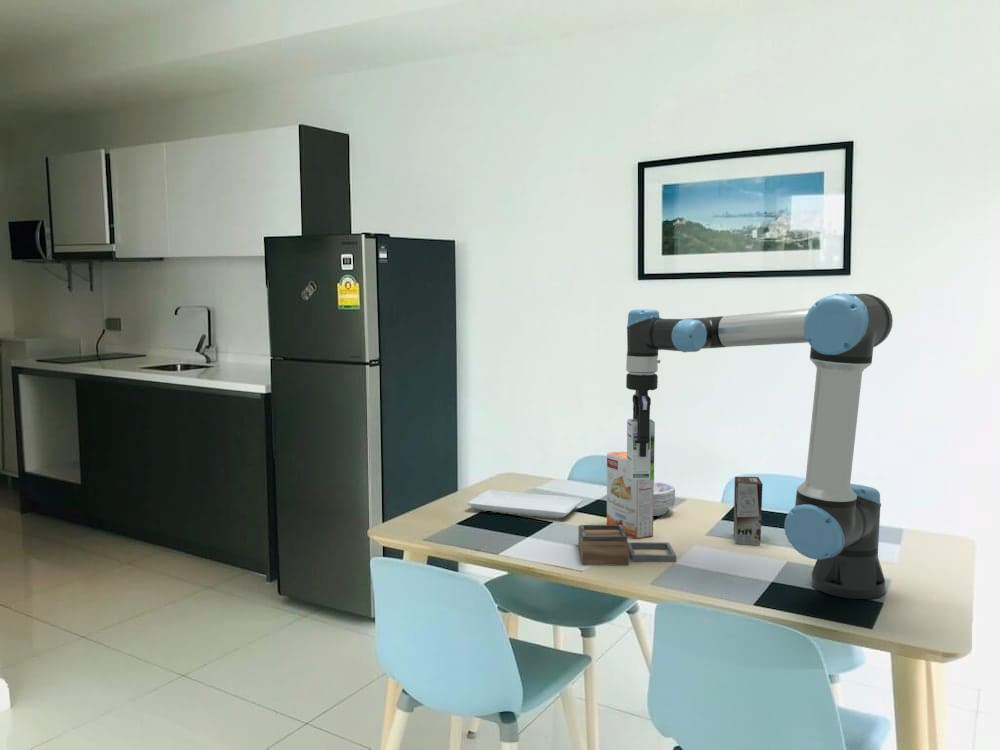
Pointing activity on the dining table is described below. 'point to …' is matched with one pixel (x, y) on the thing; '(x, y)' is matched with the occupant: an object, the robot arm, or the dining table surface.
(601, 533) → the raised socket stand
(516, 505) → the tray
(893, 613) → the dining table surface
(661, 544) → the low socket
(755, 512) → the coffee box
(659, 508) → the paper bowls
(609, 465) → the cracker box
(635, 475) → the syrup box
